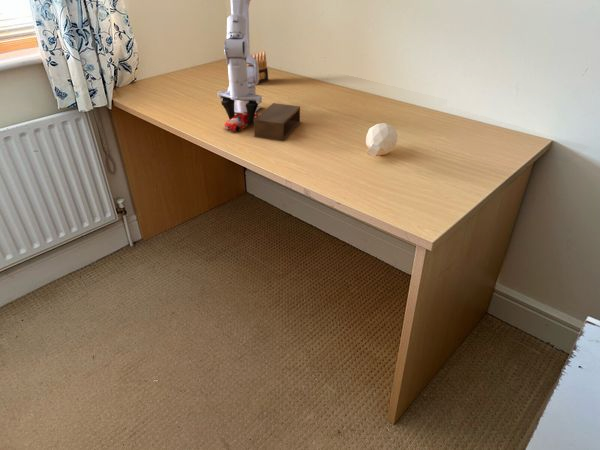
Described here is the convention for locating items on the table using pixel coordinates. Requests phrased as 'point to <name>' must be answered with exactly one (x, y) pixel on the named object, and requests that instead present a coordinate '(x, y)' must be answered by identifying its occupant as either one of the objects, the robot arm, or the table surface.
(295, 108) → the shelf
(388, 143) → the white faceted rounded lump
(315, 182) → the table surface
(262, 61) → the ammunition clip
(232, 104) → the robot arm
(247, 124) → the race car
